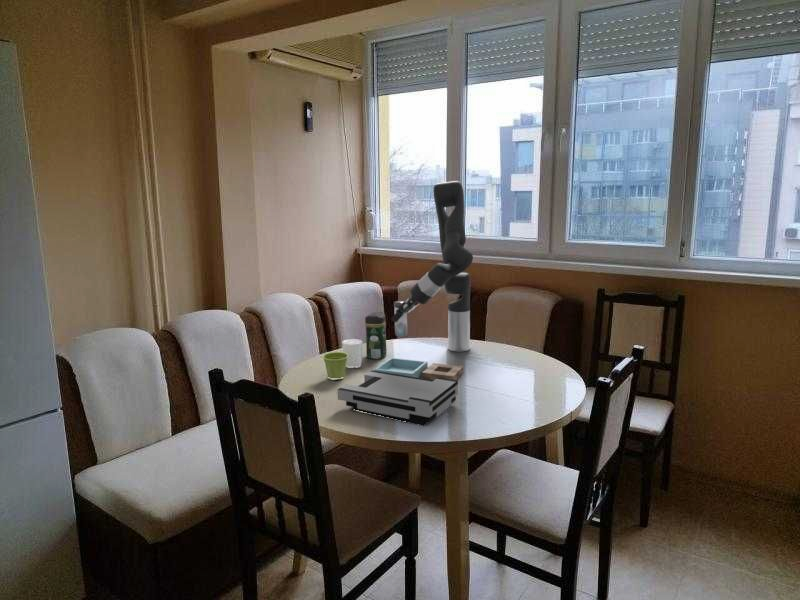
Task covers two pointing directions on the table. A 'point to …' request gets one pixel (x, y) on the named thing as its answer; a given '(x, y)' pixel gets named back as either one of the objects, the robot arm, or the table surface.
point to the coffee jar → (375, 335)
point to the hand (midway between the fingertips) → (395, 319)
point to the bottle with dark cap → (400, 321)
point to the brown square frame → (442, 372)
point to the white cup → (353, 351)
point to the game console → (401, 396)
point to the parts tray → (403, 367)
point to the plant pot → (335, 364)
